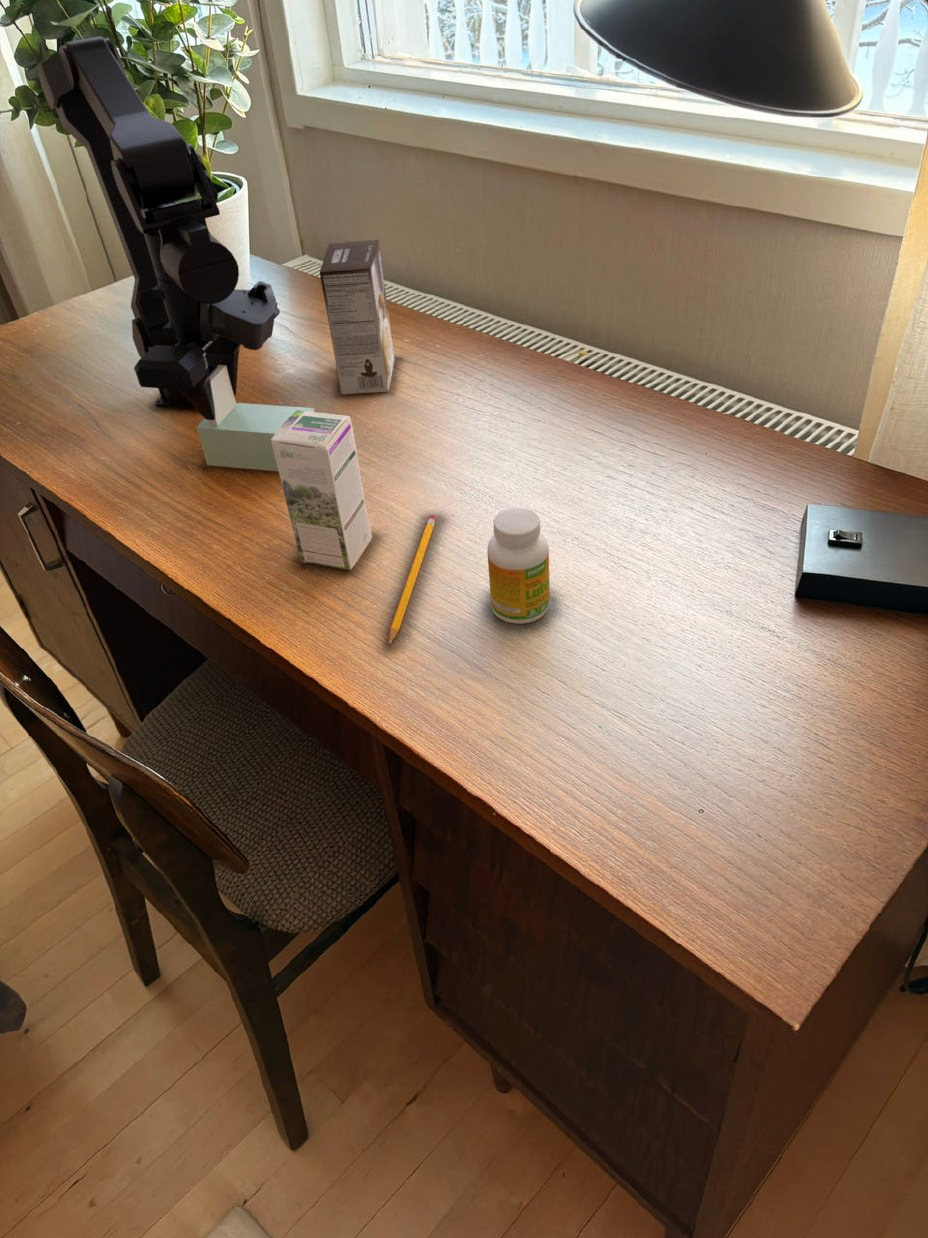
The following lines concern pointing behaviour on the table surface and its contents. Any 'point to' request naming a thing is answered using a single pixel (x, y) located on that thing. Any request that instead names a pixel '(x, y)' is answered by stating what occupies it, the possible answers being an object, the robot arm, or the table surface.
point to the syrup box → (323, 488)
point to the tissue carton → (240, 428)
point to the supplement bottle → (518, 567)
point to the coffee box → (358, 316)
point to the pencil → (411, 578)
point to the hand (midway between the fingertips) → (221, 407)
